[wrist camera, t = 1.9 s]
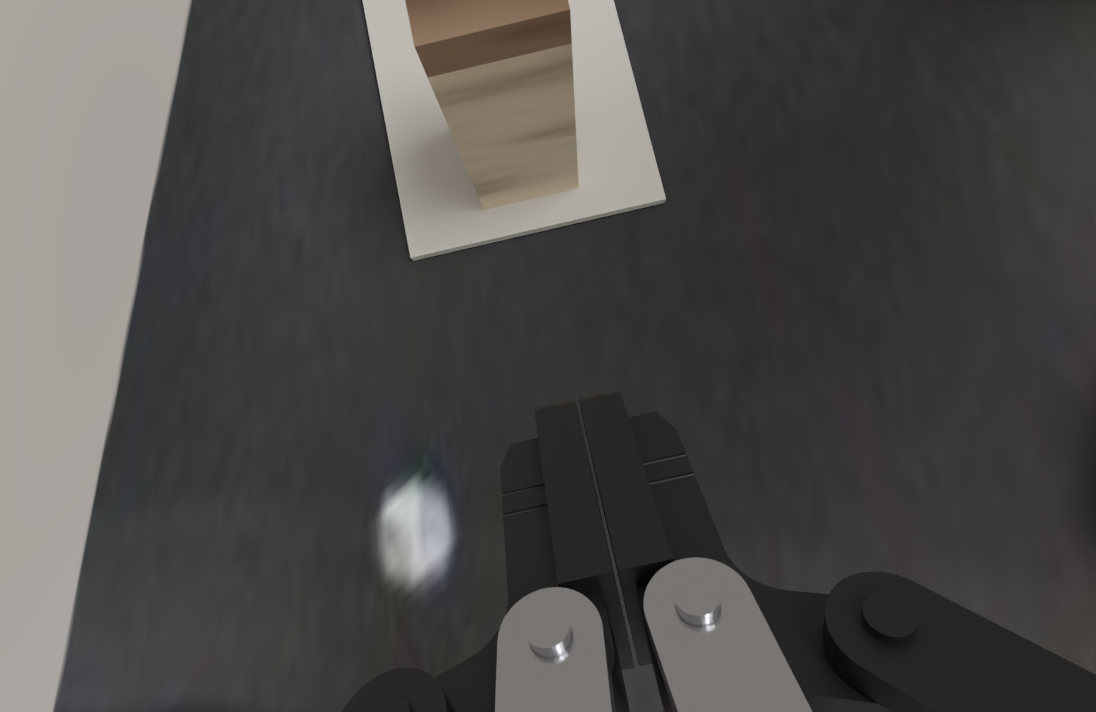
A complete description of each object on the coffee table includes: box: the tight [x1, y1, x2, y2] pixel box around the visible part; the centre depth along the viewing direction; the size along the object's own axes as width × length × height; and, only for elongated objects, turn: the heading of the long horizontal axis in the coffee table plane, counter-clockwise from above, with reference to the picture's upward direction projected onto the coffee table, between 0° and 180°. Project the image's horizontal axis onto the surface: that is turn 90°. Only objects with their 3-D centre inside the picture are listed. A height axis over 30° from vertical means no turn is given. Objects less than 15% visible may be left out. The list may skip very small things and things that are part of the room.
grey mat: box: [362, 0, 666, 261], centre depth 42 cm, size 24×16×1 cm, turn 12°
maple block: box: [405, 0, 579, 210], centre depth 33 cm, size 6×6×16 cm
